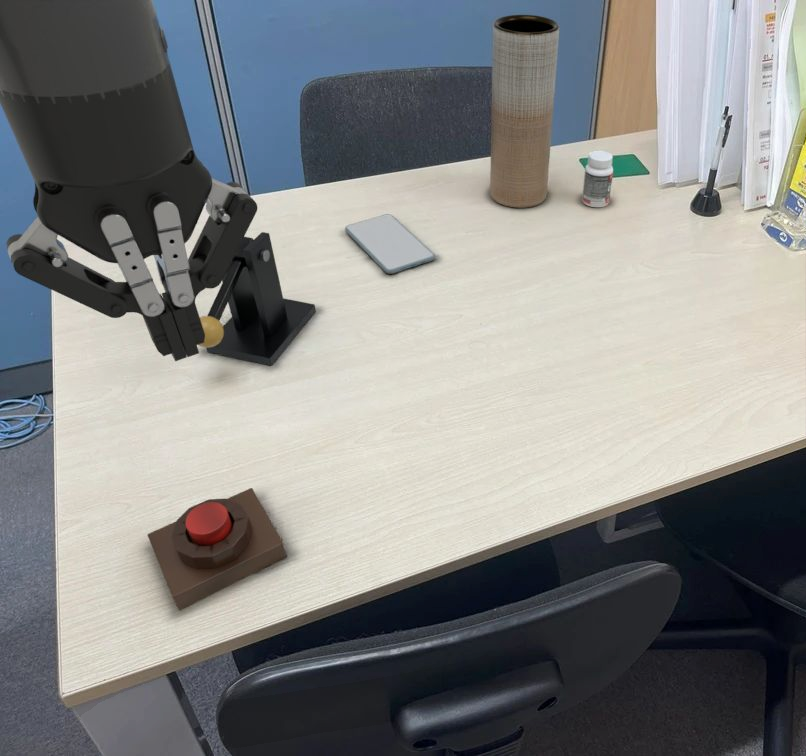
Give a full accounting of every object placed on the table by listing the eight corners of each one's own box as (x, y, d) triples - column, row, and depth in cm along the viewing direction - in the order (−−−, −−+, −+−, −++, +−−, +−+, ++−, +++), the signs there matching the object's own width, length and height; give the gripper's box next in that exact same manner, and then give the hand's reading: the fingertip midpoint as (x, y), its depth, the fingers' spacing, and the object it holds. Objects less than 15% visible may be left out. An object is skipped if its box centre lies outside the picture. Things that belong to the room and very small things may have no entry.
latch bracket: (271, 366, 87) (248, 271, 78) (207, 352, 89) (176, 258, 79) (316, 311, 96) (299, 220, 87) (256, 299, 97) (234, 209, 88)
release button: (197, 552, 62) (192, 540, 61) (185, 525, 65) (179, 513, 63) (237, 533, 64) (233, 522, 63) (224, 507, 66) (219, 495, 65)
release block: (179, 611, 62) (166, 586, 59) (154, 547, 67) (140, 522, 64) (287, 556, 67) (279, 531, 64) (256, 501, 71) (247, 475, 69)
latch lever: (222, 355, 81) (207, 341, 78) (194, 349, 81) (178, 335, 78) (267, 252, 86) (255, 235, 83) (241, 248, 87) (228, 231, 83)
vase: (547, 184, 126) (560, 16, 108) (545, 210, 119) (558, 35, 101) (493, 180, 127) (496, 12, 108) (487, 206, 119) (489, 31, 101)
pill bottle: (611, 207, 120) (618, 161, 115) (584, 208, 120) (590, 161, 114) (605, 194, 124) (611, 149, 118) (579, 195, 124) (584, 149, 118)
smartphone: (387, 271, 102) (343, 225, 111) (388, 277, 103) (343, 231, 112) (437, 255, 106) (390, 212, 115) (437, 260, 106) (390, 217, 115)
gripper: (199, 21, 38) (263, 289, 49) (-97, 61, 32) (54, 356, 43) (250, 60, 33) (307, 346, 45) (-84, 115, 27) (81, 428, 39)
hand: (182, 350), depth 44 cm, fingers closed
